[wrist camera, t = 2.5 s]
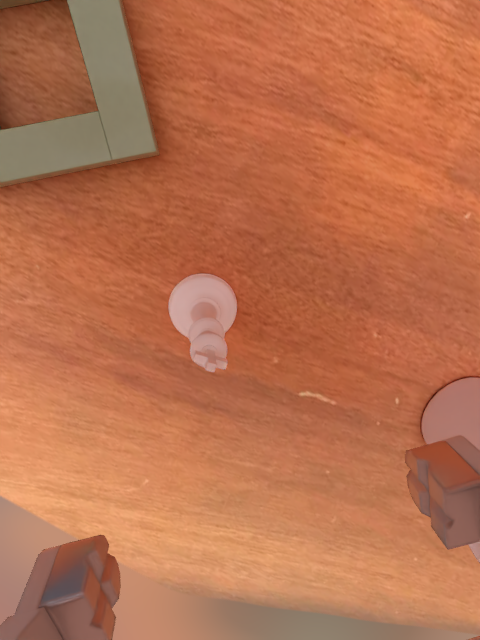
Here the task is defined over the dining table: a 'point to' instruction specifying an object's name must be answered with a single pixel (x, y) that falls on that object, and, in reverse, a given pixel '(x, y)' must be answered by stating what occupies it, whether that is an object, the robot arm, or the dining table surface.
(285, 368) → the dining table surface
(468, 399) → the mug
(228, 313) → the chess piece
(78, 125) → the dock
